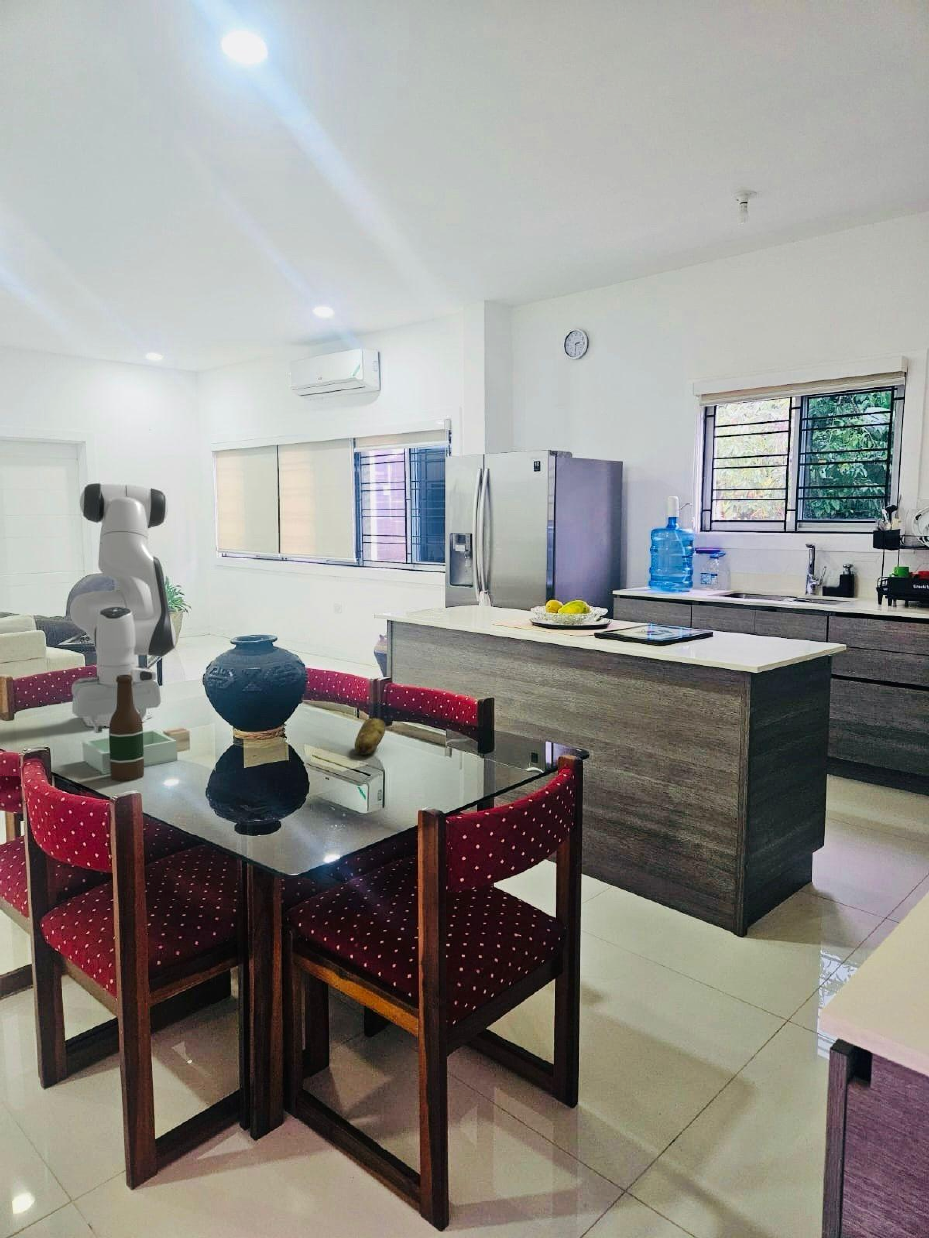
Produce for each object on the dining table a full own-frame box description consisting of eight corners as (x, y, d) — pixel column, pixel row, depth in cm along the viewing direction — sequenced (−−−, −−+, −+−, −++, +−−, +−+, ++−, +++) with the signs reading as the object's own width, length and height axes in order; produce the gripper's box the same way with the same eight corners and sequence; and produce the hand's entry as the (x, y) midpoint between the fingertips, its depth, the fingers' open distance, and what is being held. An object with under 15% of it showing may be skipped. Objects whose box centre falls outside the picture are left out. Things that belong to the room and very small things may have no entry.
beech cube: (163, 748, 214) (162, 730, 213) (181, 745, 217) (181, 727, 217) (171, 753, 210) (170, 734, 210) (189, 749, 213) (189, 731, 213)
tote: (83, 760, 202) (82, 741, 201) (155, 748, 214) (154, 729, 213) (102, 774, 192) (102, 753, 191) (177, 760, 204) (176, 740, 203)
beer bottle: (118, 770, 194) (115, 672, 192) (151, 771, 194) (147, 672, 191) (103, 781, 187) (99, 678, 184) (137, 782, 186) (133, 679, 184)
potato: (341, 754, 211) (341, 724, 210) (370, 742, 222) (370, 714, 221) (367, 759, 207) (367, 728, 206) (395, 747, 218) (396, 718, 217)
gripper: (75, 681, 190) (77, 739, 191) (162, 672, 203) (163, 726, 205) (67, 676, 194) (69, 733, 196) (153, 667, 208) (154, 720, 210)
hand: (118, 729), depth 201 cm, fingers open, 8 cm apart
